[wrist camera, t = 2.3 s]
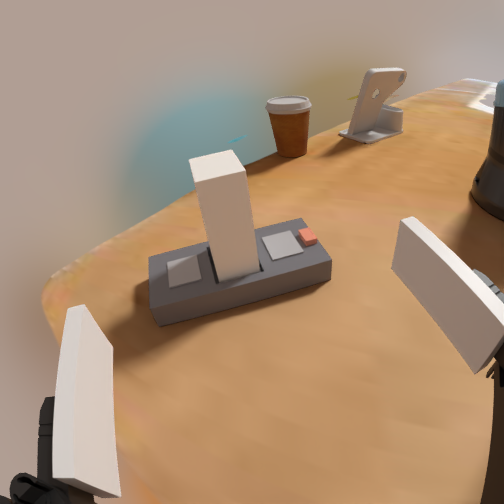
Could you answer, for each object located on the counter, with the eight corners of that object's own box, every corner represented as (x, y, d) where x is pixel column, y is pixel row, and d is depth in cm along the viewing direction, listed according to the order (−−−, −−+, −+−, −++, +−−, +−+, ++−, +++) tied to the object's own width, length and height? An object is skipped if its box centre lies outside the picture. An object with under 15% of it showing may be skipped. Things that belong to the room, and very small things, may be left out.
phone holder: (377, 123, 81) (376, 63, 70) (406, 132, 74) (408, 68, 63) (337, 134, 74) (334, 65, 63) (368, 145, 67) (368, 70, 56)
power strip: (301, 236, 43) (301, 213, 41) (330, 279, 36) (332, 254, 34) (155, 274, 40) (146, 252, 38) (158, 326, 33) (147, 304, 31)
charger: (247, 247, 40) (231, 149, 32) (261, 279, 35) (245, 170, 27) (212, 257, 39) (188, 158, 31) (221, 290, 35) (194, 182, 26)
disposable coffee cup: (316, 159, 63) (313, 103, 55) (270, 162, 64) (264, 106, 56) (311, 143, 70) (308, 94, 63) (270, 146, 71) (265, 97, 64)
